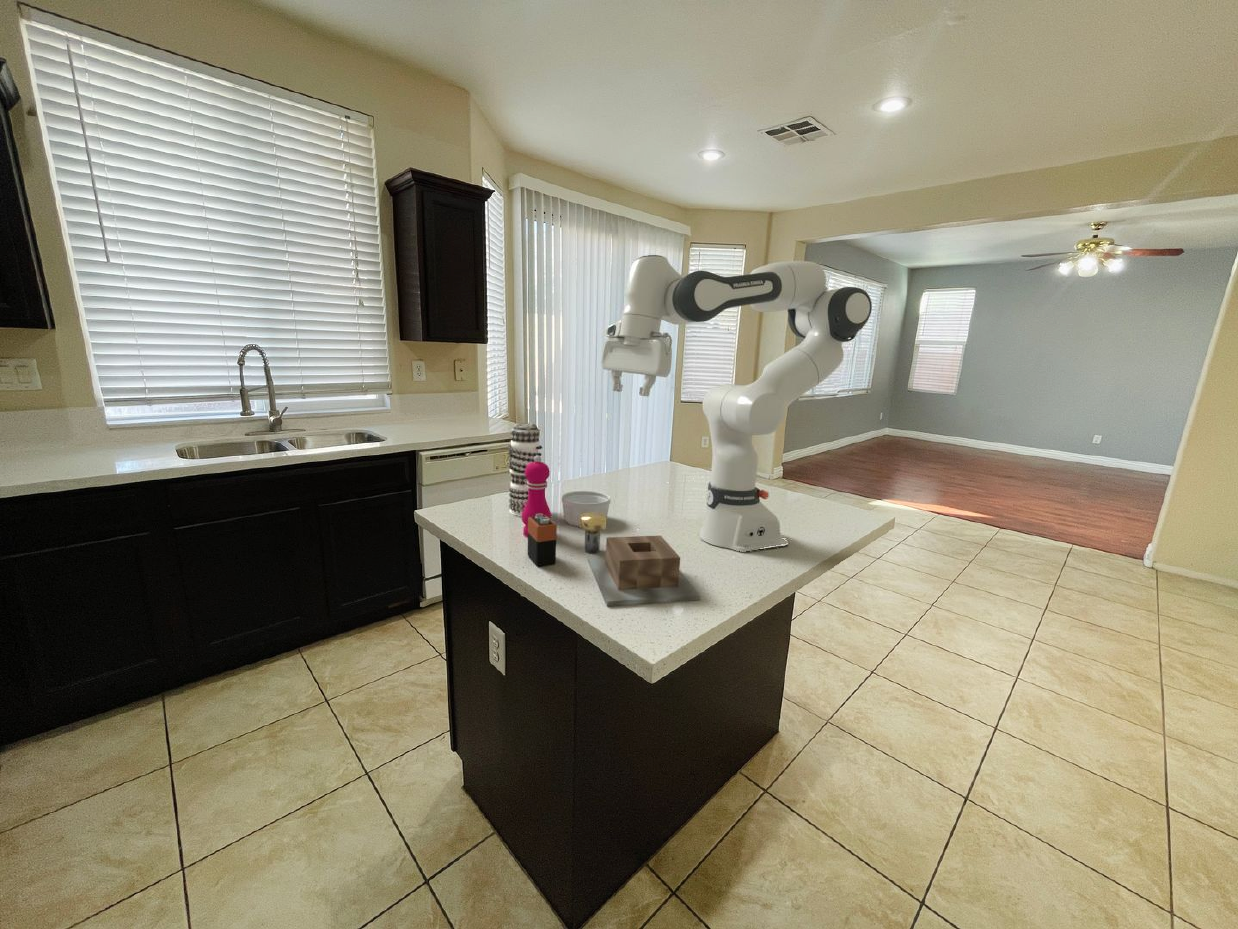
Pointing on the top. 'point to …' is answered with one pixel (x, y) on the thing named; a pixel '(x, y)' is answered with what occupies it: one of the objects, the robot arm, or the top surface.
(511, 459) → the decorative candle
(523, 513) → the pepper mill
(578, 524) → the ramekin
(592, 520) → the gold grey cylinder
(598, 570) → the board
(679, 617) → the top surface
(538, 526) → the battery
